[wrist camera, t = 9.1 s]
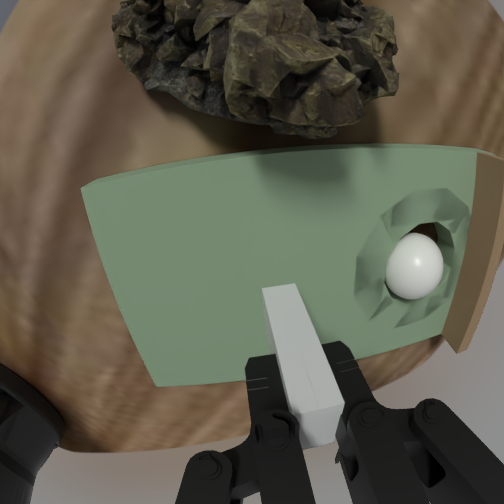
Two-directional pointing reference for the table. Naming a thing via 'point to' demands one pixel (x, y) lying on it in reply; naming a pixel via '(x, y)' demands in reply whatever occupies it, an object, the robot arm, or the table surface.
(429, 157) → the green
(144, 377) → the table surface
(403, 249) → the ball
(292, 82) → the rock
